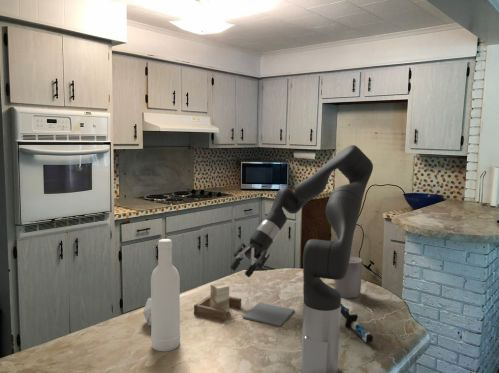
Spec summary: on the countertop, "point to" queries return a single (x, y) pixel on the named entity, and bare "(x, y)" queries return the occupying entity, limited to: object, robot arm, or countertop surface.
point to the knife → (355, 325)
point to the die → (148, 311)
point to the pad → (269, 314)
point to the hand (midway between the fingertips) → (239, 272)
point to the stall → (206, 311)
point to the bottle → (165, 301)
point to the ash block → (220, 296)
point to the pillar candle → (351, 279)
